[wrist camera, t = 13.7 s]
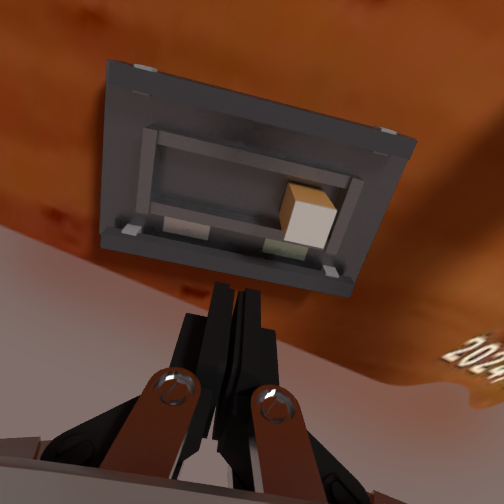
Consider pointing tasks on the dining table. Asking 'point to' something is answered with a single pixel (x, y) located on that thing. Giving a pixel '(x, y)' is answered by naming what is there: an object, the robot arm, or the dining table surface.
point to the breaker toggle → (306, 215)
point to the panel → (235, 180)
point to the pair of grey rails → (261, 111)
